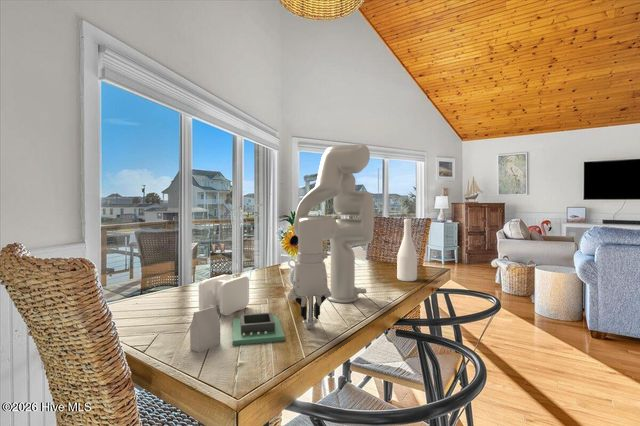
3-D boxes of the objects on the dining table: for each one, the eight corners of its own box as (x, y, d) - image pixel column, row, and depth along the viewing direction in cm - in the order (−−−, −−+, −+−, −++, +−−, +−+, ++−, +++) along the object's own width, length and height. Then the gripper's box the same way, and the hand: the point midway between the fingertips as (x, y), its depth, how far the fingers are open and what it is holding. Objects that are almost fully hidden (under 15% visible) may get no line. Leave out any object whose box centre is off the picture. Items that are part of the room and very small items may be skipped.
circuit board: (277, 319, 115) (277, 307, 115) (284, 340, 97) (284, 327, 97) (233, 322, 111) (233, 310, 111) (232, 345, 94) (232, 331, 94)
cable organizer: (221, 319, 114) (221, 284, 114) (197, 314, 119) (197, 280, 118) (249, 306, 128) (249, 275, 128) (226, 303, 132) (226, 272, 132)
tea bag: (220, 343, 95) (220, 307, 95) (199, 352, 90) (198, 314, 89) (211, 340, 97) (211, 305, 97) (190, 349, 92) (189, 311, 91)
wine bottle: (397, 281, 169) (398, 219, 168) (396, 277, 178) (397, 218, 177) (417, 282, 167) (418, 219, 166) (415, 277, 177) (416, 218, 176)
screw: (299, 328, 107) (309, 323, 111) (311, 331, 104) (321, 327, 108) (299, 285, 106) (309, 282, 110) (311, 288, 103) (321, 285, 107)
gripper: (333, 255, 112) (332, 312, 113) (282, 257, 108) (282, 316, 109) (339, 259, 105) (339, 320, 105) (285, 261, 101) (285, 324, 102)
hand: (310, 317), depth 107 cm, fingers open, 3 cm apart
